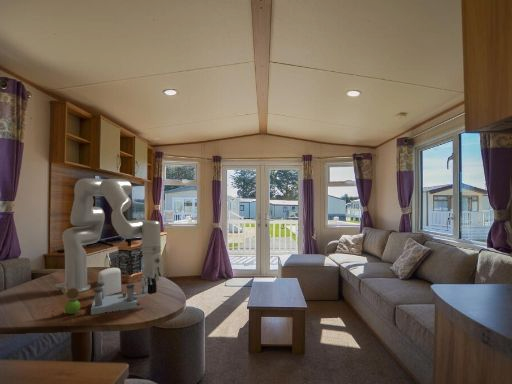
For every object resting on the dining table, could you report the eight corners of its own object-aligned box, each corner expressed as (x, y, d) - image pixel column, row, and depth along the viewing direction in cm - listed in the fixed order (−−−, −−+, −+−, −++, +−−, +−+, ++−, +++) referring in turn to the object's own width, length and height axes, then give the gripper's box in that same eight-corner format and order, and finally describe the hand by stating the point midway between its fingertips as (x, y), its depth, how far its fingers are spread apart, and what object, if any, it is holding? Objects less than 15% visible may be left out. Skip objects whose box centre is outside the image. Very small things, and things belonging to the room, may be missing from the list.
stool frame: (91, 314, 120) (90, 291, 120) (94, 303, 133) (94, 282, 133) (137, 307, 127) (136, 286, 127) (136, 297, 140) (135, 277, 140)
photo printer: (100, 298, 140) (100, 271, 140) (96, 296, 143) (96, 269, 143) (122, 292, 148) (122, 266, 148) (118, 290, 151) (118, 265, 151)
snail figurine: (66, 311, 124) (66, 282, 124) (83, 310, 125) (82, 281, 125) (59, 316, 119) (58, 286, 119) (76, 315, 119) (75, 285, 120)
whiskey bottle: (115, 281, 167) (115, 223, 167) (129, 277, 176) (128, 221, 176) (130, 283, 163) (129, 223, 163) (143, 278, 172) (142, 222, 172)
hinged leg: (127, 299, 129) (127, 280, 129) (127, 297, 132) (127, 278, 132) (148, 296, 133) (148, 277, 133) (148, 294, 135) (148, 276, 135)
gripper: (168, 250, 126) (169, 294, 126) (151, 246, 137) (152, 287, 137) (151, 253, 121) (152, 299, 121) (135, 249, 131) (135, 291, 131)
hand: (152, 293), depth 129 cm, fingers closed
